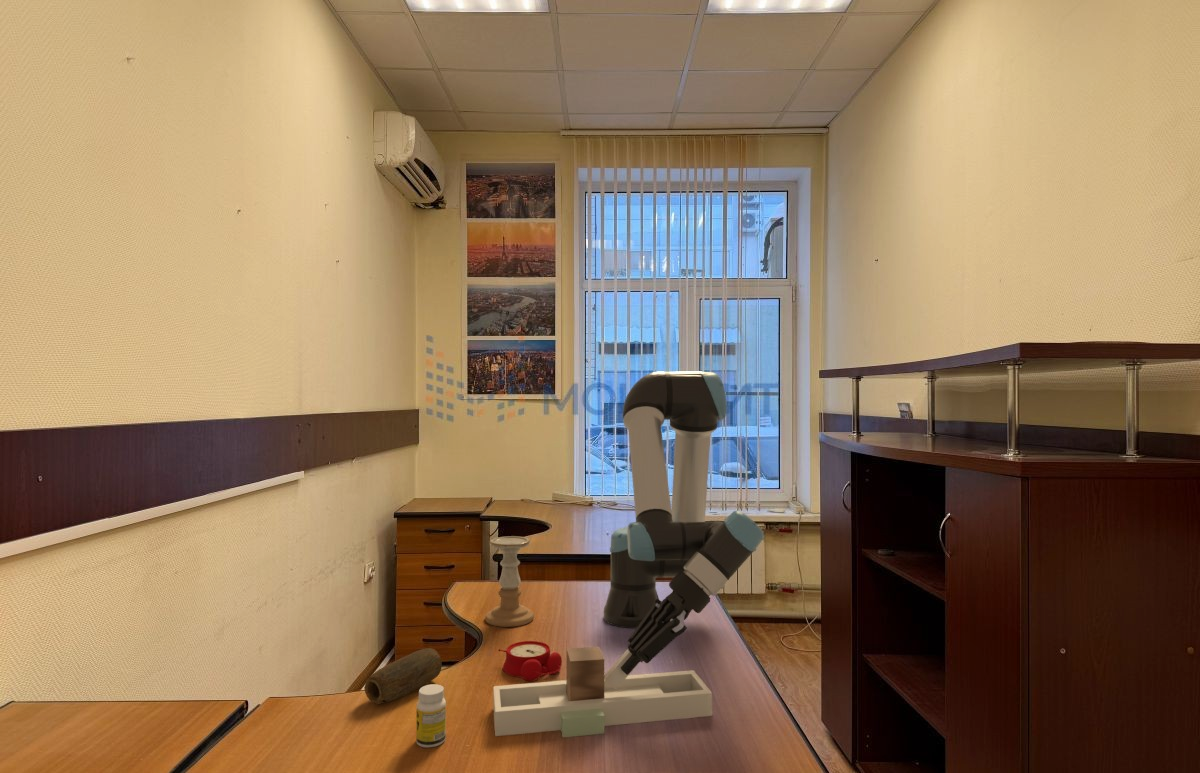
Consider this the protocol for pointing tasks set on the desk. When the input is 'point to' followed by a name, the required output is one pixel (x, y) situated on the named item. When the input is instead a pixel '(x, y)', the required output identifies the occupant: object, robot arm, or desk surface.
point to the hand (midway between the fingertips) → (609, 683)
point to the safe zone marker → (582, 722)
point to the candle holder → (509, 585)
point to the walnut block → (584, 674)
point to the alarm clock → (531, 660)
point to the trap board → (602, 702)
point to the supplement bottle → (431, 716)
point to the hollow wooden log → (403, 676)
